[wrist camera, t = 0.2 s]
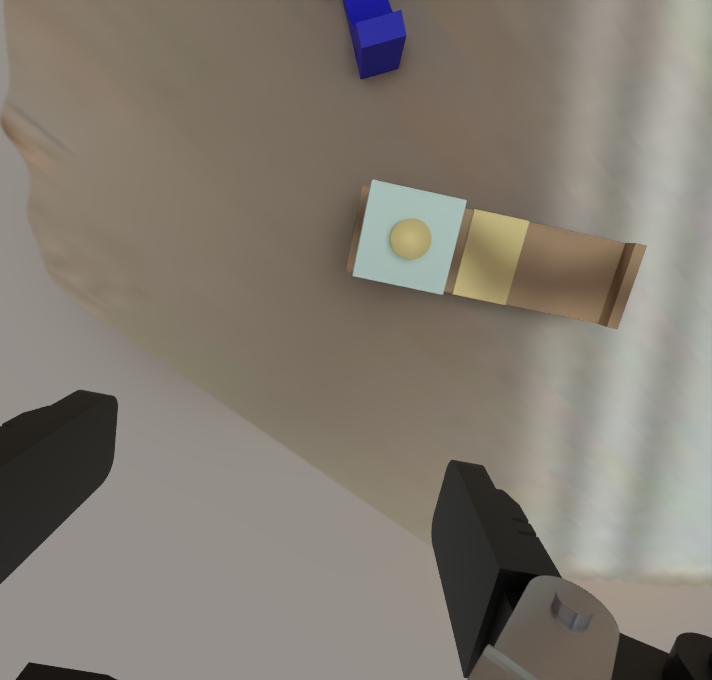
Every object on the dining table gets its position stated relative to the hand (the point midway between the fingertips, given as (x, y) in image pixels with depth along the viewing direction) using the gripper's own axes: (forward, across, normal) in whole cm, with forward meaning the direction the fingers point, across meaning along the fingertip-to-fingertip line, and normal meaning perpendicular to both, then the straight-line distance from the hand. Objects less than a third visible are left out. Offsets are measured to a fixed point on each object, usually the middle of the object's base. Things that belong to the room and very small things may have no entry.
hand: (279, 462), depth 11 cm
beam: (+29, -10, -6) cm, 31 cm away
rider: (+22, -3, -6) cm, 23 cm away
